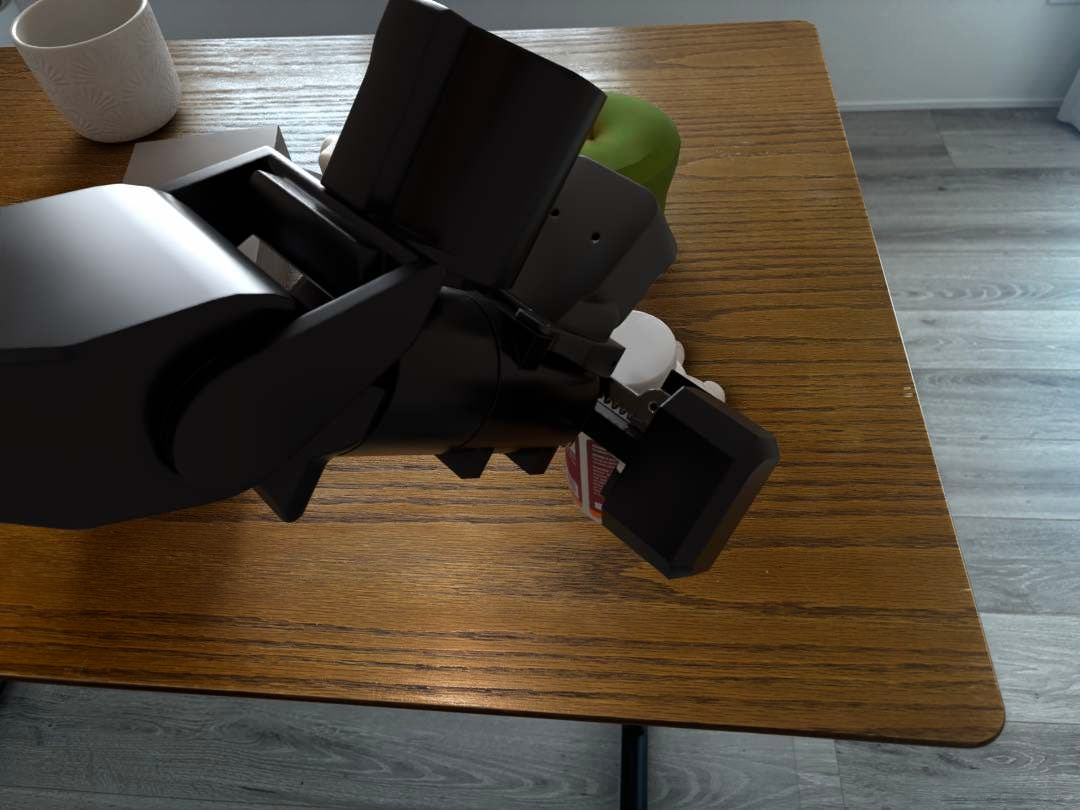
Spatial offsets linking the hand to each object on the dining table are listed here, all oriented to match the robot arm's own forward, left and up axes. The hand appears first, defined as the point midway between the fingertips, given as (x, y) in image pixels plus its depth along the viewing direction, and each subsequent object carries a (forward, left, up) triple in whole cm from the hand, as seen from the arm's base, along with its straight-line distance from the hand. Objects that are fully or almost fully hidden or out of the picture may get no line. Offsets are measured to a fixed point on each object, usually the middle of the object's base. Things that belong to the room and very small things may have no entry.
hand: (643, 392), depth 41 cm
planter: (+31, +61, -13) cm, 70 cm away
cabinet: (+15, +41, -13) cm, 45 cm away
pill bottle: (-1, +1, -7) cm, 7 cm away
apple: (+25, +10, -13) cm, 30 cm away
